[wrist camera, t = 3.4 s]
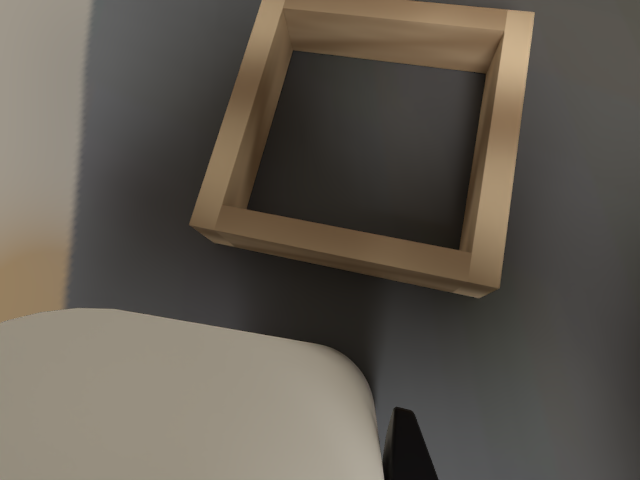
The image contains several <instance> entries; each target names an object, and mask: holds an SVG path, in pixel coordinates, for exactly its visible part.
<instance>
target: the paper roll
mask: <svg viewBox="0 0 640 480" xmlns="http://www.w3.org/2000/svg"><path fill="white" fill-rule="evenodd" d="M0 480H384V474H383V466H382V458H381V451H380V443H379V436H378V428H377V421H376V413H375V405H374V400H373V396H372V392H371V389H370V387H369V384H368V382H367V380H366V378H365V376H364V375H363V373H362V372H361V371H360V369H359V368H358V367H357V366H356V365H355V363H354V362H353V361H352V360H350V359H349V358H348V357H347V356H346V355H344V354H342V353H341V352H339V351H337V350H335V349H333V348H331V347H328V346H325V345H321V344H315V343H309V342H303V341H298V340H292V339H286V338H280V337H274V336H269V335H263V334H257V333H251V332H245V331H240V330H234V329H228V328H222V327H216V326H210V325H205V324H199V323H193V322H187V321H181V320H176V319H170V318H164V317H158V316H152V315H147V314H141V313H135V312H129V311H123V310H118V309H95V308H74V309H65V310H56V311H47V312H40V313H36V314H32V315H28V316H24V317H20V318H16V319H12V320H8V321H4V322H2V323H0Z"/></svg>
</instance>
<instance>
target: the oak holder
mask: <svg viewBox="0 0 640 480" xmlns="http://www.w3.org/2000/svg"><path fill="white" fill-rule="evenodd" d="M534 14H535V12H526V11H515V10H504V9H494V8H483V7H473V6H462V5H452V4H441V3H430V2H420V1H409V0H262V2H261V5H260V8H259V11H258V14H257V18H256V21H255V24H254V27H253V30H252V33H251V36H250V39H249V42H248V45H247V48H246V51H245V54H244V57H243V61H242V64H241V67H240V70H239V73H238V76H237V79H236V82H235V85H234V88H233V91H232V94H231V97H230V100H229V103H228V107H227V110H226V113H225V116H224V119H223V122H222V125H221V128H220V131H219V134H218V137H217V140H216V143H215V146H214V150H213V153H212V156H211V159H210V162H209V165H208V168H207V171H206V174H205V177H204V180H203V183H202V186H201V189H200V192H199V196H198V199H197V202H196V205H195V208H194V211H193V214H192V217H191V220H190V223H189V225H190V226H191V227H192V228H194V229H195V230H197V231H198V232H199V233H201V234H202V235H204V236H205V237H206V238H208V239H209V240H211V241H212V242H213V243H218V244H223V245H227V246H232V247H237V248H242V249H246V250H251V251H256V252H261V253H266V254H270V255H275V256H280V257H285V258H289V259H294V260H299V261H304V262H308V263H313V264H318V265H323V266H328V267H332V268H337V269H342V270H347V271H351V272H356V273H361V274H366V275H370V276H375V277H380V278H385V279H389V280H394V281H399V282H404V283H409V284H413V285H418V286H423V287H428V288H432V289H437V290H442V291H447V292H451V293H456V294H461V295H466V296H471V297H475V298H481V297H483V296H485V295H487V294H489V293H491V292H493V291H495V290H497V289H499V288H500V281H501V273H502V265H503V257H504V249H505V241H506V234H507V226H508V218H509V210H510V202H511V194H512V187H513V179H514V171H515V163H516V155H517V147H518V139H519V132H520V124H521V116H522V108H523V100H524V92H525V85H526V77H527V69H528V61H529V53H530V45H531V38H532V30H533V22H534ZM293 50H295V51H303V52H312V53H320V54H328V55H337V56H345V57H353V58H362V59H370V60H378V61H386V62H395V63H403V64H411V65H420V66H428V67H436V68H445V69H453V70H461V71H469V72H478V73H486V79H485V86H484V92H483V99H482V105H481V111H480V118H479V124H478V131H477V137H476V144H475V150H474V157H473V163H472V169H471V176H470V182H469V189H468V195H467V202H466V208H465V214H464V221H463V227H462V234H461V240H460V247H459V250H455V249H450V248H444V247H439V246H434V245H429V244H424V243H418V242H413V241H408V240H403V239H398V238H392V237H387V236H382V235H377V234H372V233H366V232H361V231H356V230H351V229H346V228H340V227H335V226H330V225H325V224H320V223H314V222H309V221H304V220H299V219H294V218H288V217H283V216H278V215H273V214H268V213H262V212H257V211H252V210H247V206H248V202H249V199H250V195H251V192H252V189H253V185H254V182H255V178H256V175H257V171H258V168H259V165H260V161H261V158H262V154H263V151H264V148H265V144H266V141H267V137H268V134H269V130H270V127H271V124H272V120H273V117H274V113H275V110H276V107H277V103H278V100H279V96H280V93H281V90H282V86H283V83H284V79H285V76H286V72H287V69H288V66H289V62H290V59H291V55H292V52H293Z"/></svg>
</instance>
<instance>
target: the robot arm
mask: <svg viewBox="0 0 640 480" xmlns="http://www.w3.org/2000/svg"><path fill="white" fill-rule="evenodd" d="M382 466H383V474H384V480H438V477H437V474H436V471H435V469H434V466H433V463H432V460H431V458H430V455H429V452H428V449H427V447H426V444H425V441H424V438H423V436H422V433H421V430H420V427H419V425H418V422H417V419H416V417H415V414H414V413H413V412H412V411H411V410H408V409H404V408H400V407H395V408H394V409H393V412H392V415H391V419H390V423H389V426H388V430H387V435H386V440H385V447H384V454H383V461H382Z"/></svg>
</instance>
